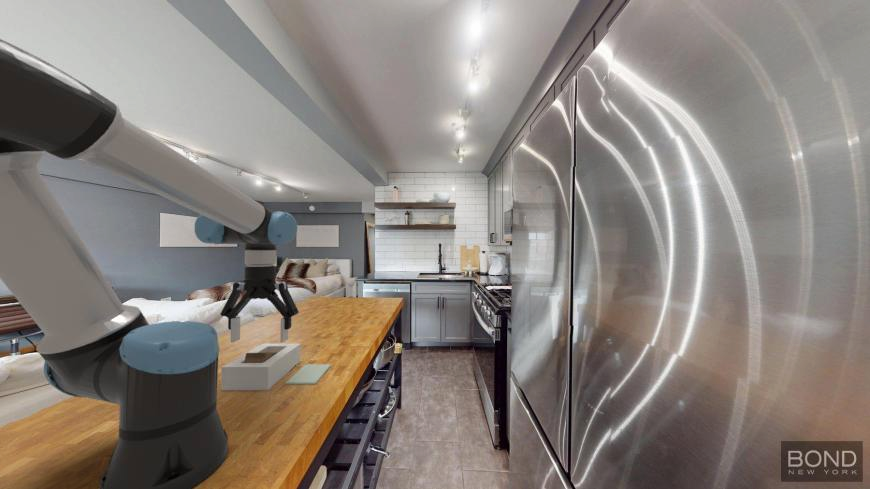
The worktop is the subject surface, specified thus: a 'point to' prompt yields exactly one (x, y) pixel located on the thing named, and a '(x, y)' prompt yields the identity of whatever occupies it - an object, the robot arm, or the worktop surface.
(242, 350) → the worktop surface
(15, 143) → the robot arm
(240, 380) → the pocket block
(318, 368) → the sage mat
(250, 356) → the walnut bar
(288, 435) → the worktop surface
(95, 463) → the worktop surface
